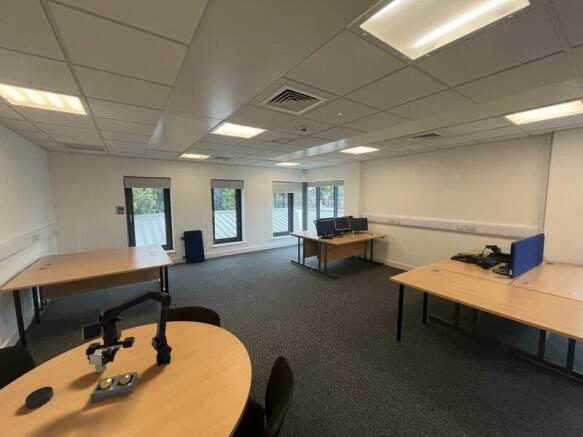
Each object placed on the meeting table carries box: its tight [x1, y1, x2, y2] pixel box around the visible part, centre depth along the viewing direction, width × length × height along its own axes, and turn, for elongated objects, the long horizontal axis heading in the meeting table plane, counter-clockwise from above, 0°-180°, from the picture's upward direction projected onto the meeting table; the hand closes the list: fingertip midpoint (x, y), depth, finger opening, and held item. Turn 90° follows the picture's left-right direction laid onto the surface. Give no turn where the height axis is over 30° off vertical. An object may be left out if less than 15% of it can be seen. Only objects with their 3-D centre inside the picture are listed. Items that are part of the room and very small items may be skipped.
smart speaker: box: [24, 386, 54, 409], centre depth 110 cm, size 9×9×4 cm
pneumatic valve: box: [86, 349, 111, 374], centre depth 130 cm, size 6×12×12 cm, turn 78°
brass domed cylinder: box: [100, 376, 112, 390], centre depth 115 cm, size 4×4×6 cm
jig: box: [90, 371, 139, 404], centre depth 116 cm, size 16×10×4 cm, turn 110°
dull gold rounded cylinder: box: [120, 372, 131, 385], centre depth 118 cm, size 4×4×6 cm
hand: (112, 361), depth 119 cm, fingers closed
